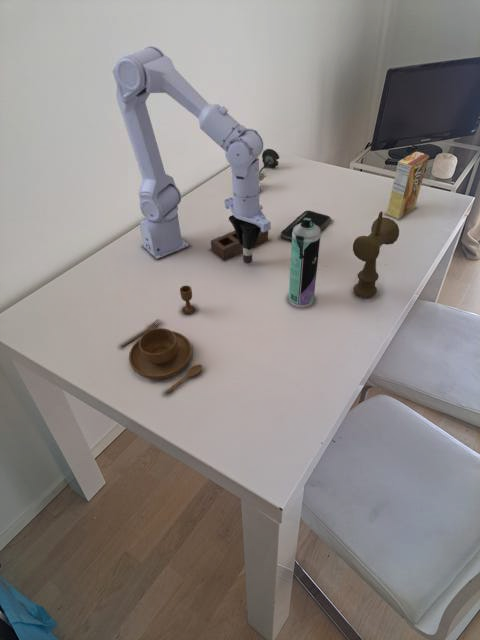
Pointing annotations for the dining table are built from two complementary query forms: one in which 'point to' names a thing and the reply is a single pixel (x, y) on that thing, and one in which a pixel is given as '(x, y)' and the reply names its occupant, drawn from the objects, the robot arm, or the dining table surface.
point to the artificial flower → (268, 161)
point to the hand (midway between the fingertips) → (247, 245)
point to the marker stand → (232, 244)
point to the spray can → (304, 263)
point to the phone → (316, 219)
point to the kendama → (373, 253)
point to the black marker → (246, 252)
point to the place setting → (163, 349)
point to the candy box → (407, 184)
